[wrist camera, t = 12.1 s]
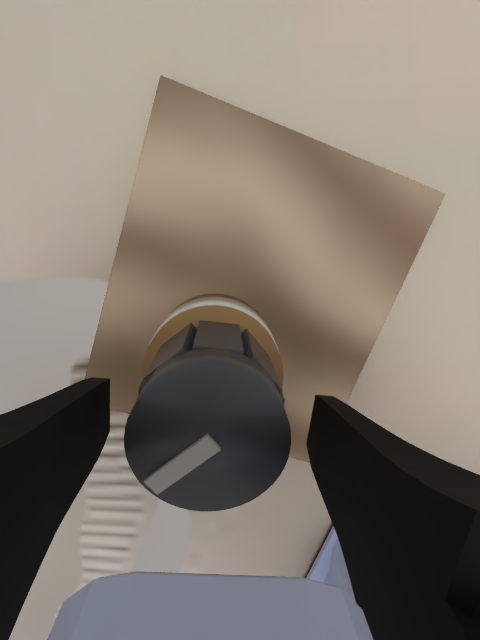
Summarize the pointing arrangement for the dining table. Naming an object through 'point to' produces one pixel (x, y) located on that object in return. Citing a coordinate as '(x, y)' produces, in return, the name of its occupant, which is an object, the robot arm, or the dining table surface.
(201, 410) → the cap
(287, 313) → the board
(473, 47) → the dining table surface
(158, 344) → the jar
